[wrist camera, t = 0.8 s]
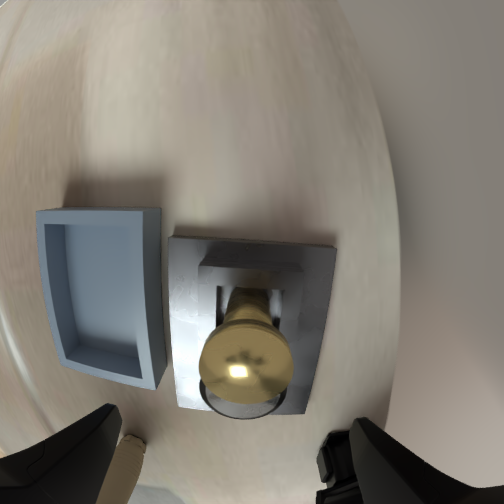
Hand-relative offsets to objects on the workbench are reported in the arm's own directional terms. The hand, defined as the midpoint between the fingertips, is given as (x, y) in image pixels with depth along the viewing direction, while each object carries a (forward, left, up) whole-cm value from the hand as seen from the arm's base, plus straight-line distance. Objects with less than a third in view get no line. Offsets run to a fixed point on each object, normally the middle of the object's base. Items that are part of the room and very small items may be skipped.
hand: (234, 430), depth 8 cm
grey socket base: (0, +3, -13) cm, 13 cm away
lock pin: (0, 0, -12) cm, 12 cm away
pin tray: (+12, 0, -13) cm, 18 cm away
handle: (+13, +21, -13) cm, 28 cm away
